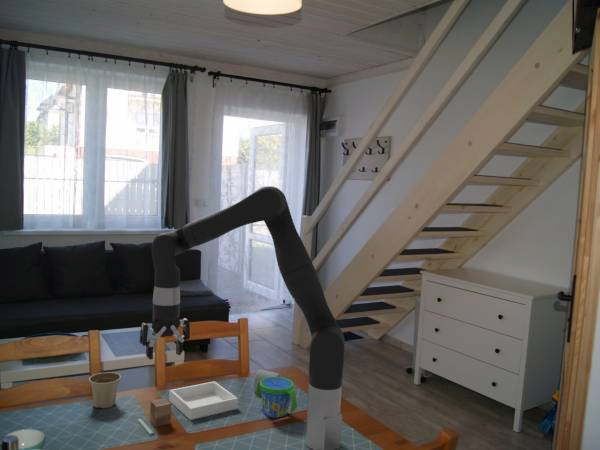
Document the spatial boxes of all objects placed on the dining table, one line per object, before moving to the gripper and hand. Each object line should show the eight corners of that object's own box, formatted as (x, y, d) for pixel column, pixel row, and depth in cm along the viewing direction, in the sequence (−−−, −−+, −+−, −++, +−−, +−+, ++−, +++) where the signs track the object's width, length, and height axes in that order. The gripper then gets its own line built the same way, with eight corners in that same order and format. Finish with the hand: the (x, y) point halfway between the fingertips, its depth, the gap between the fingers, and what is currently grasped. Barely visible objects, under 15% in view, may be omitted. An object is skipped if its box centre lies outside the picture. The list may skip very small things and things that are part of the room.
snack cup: (304, 418, 159) (306, 386, 159) (278, 428, 152) (280, 394, 151) (271, 401, 171) (273, 371, 170) (246, 409, 163) (248, 378, 163)
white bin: (237, 410, 162) (237, 398, 162) (190, 421, 153) (190, 408, 153) (213, 392, 175) (214, 381, 175) (169, 402, 166) (169, 390, 165)
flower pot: (81, 405, 159) (82, 378, 159) (105, 395, 168) (106, 370, 167) (102, 413, 155) (103, 385, 154) (126, 402, 163) (127, 376, 163)
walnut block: (170, 423, 150) (171, 403, 150) (155, 427, 147) (156, 406, 147) (164, 417, 154) (165, 398, 153) (149, 420, 151) (150, 401, 150)
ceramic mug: (275, 398, 173) (277, 376, 173) (252, 395, 175) (253, 373, 174) (283, 387, 184) (284, 366, 183) (260, 384, 185) (262, 363, 185)
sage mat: (183, 426, 149) (183, 425, 149) (149, 435, 144) (149, 433, 143) (169, 413, 157) (169, 412, 157) (137, 421, 152) (137, 419, 151)
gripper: (147, 306, 141) (145, 364, 142) (195, 301, 149) (192, 356, 151) (137, 300, 147) (135, 356, 148) (184, 296, 155) (182, 349, 157)
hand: (164, 356), depth 149 cm, fingers open, 8 cm apart
